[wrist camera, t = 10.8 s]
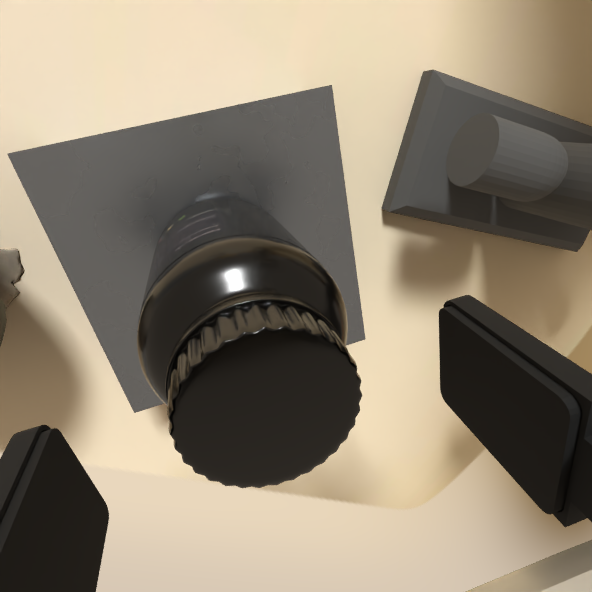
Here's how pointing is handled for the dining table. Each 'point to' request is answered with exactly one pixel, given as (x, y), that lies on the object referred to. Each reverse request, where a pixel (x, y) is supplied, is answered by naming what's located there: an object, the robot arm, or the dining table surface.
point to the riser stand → (187, 203)
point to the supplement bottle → (246, 346)
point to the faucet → (493, 165)
